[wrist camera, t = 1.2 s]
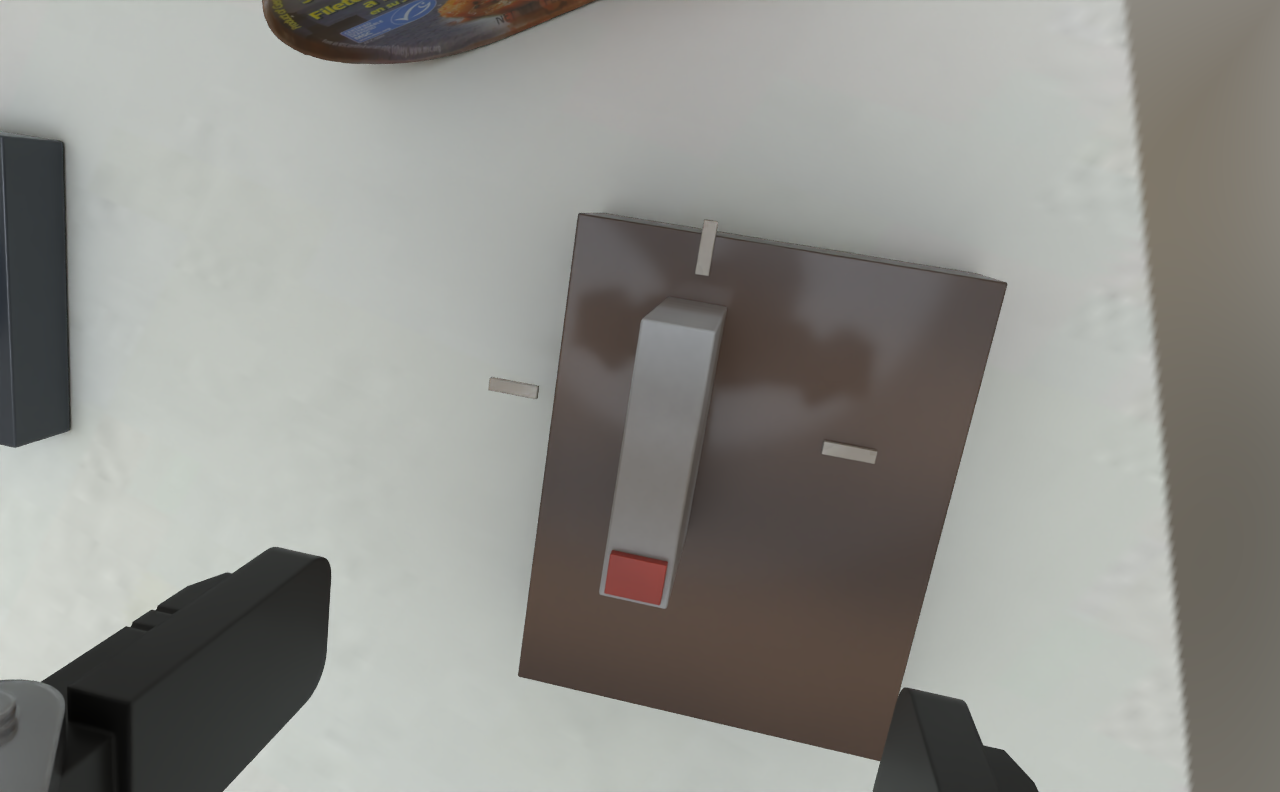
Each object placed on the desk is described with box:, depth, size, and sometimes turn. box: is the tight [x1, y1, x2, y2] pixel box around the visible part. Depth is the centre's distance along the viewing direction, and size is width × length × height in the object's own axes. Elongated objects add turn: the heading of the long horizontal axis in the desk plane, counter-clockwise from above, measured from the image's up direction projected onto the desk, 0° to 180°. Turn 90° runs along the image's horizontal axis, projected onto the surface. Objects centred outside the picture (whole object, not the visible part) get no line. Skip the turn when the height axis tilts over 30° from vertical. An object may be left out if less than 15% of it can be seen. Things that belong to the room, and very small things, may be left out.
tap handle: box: [599, 297, 727, 609], centre depth 20 cm, size 6×2×5 cm, turn 171°
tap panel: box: [489, 213, 1007, 761], centre depth 24 cm, size 14×13×3 cm
